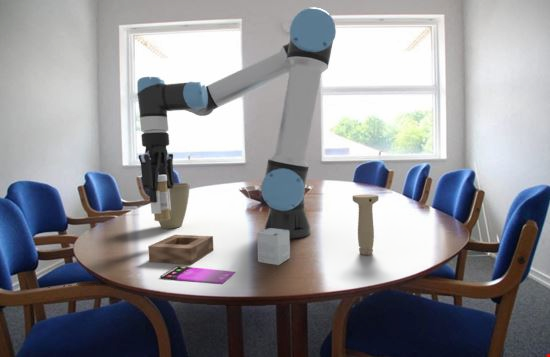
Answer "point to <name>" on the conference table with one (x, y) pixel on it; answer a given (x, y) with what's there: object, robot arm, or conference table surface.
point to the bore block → (181, 249)
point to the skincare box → (273, 246)
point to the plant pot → (177, 205)
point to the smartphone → (197, 275)
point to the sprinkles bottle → (163, 199)
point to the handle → (365, 222)
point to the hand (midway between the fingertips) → (161, 211)
